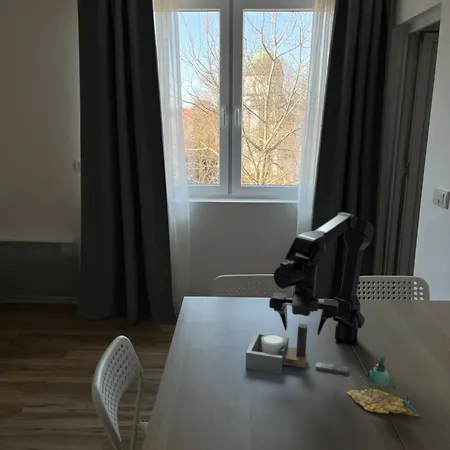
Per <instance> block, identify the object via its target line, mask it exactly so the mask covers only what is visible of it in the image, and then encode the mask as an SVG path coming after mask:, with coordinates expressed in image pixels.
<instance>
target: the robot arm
mask: <svg viewBox="0 0 450 450" xmlns="http://www.w3.org/2000/svg"><path fill="white" fill-rule="evenodd" d="M374 233H375V228H374V226H373V224H372V223H371V222H369V221H365V220H363V219H362V218H360V217H358V216H357V215H355V214H353V213H348V212H344V211H343V212H342V211H341V212H338V213H337V214H336V216H335V217H333V218H331V219H330V220H329V221H328V222H326V223H324V224H322V226H320V227H318V228H317V229H315V230H311V231H306V232H302V233H300V234H298V235H297V236H296V237H295V238H294V240H293V242H292V243H291V246H290V248H289V250H288V252H287V254H286V255H285V258H284V259H285V261H282V262H280V264H279V265H280V266H278V267H277V268H275V271H274V272H273V279H274V283H275V285H276V286H277V287H278V288H280V289H284V290H285V289H287V288H291V287H294V290H293V294H292V297H291V298H289V297H287V294H286V293H281V292H273V293H272V295H271V296H270V298H269V301H268V302H269V305H268V307H269V308H270V309H273V311H274V312H277V313H278V314H279V316H280V319H281V322H282V325H283V329H284V331H287V330H288V306H291V313H292V314H293V315H295V316H297V315H301V316H304V317H308V316H311V312H312V313H314V312H318V311H319V310H321V314H320V318H319V319H320V320H319V323H318V328H317V335H318V336H320V333H321V331H322V329H323V326H325V325H324V324H325V323H326V321H328V319H332V321H335V322H337V323H336V324H335V330H334V331H335V332H334V339H335V343H336V344H340V345H341V344H342V345H349V346H353V347H354V346H355V347H357V346H358V331H359V329H362V328H363V326H364V324H365V320H366V318H365V316H364V315H363V314H362V313H361V303H360V299H359V298H358V288H359V282H360V277H361V272H362V271H361V270H362V264H363V258H364V251H365V249H366V248H367V247H368V246H369V245H370V244H371V242H372V239H373V236H374ZM341 234H343V239H344V242H345V244H346V247H347V250H346V257H345V263H344V269H343V275H342V280H341V281H342V282H341V287H340V292H339V293H338V294H337V296H336V297H335V296H334V297H333V298H332V299H331V298H330V299H329V298H324V300H323V302H322V301H321V302H320V301H319V298H318V297H316V285H317V284H316V283H317V270H318V269H317V268H318V265H319V264H321V263H322V262H323V260H321V259H320V256H321V255H322V254H323V253H324V252H325V251H326V246H327V245H328V244H329V243H331V241H333V240H335V239H336V238H338V237H339V236H340V235H341Z"/></svg>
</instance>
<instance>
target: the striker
mask: <svg viewBox="0 0 450 450" xmlns="http://www.w3.org/2000/svg"><path fill="white" fill-rule="evenodd" d="M296 337H297V340H296V347H291V346H289V345H288V339H287V338H284V339H285V344H284V346H283V347H281V348H280V351H279V355H280V356H283V359H282V366H284V365H286V366H291V367H298V368H303V369H304V368H306V363H307V358H308V349H307V339H308V338H307V337H308V324H305V323H299V324H298V326H297V336H296ZM287 346H288V347H287Z"/></svg>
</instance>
